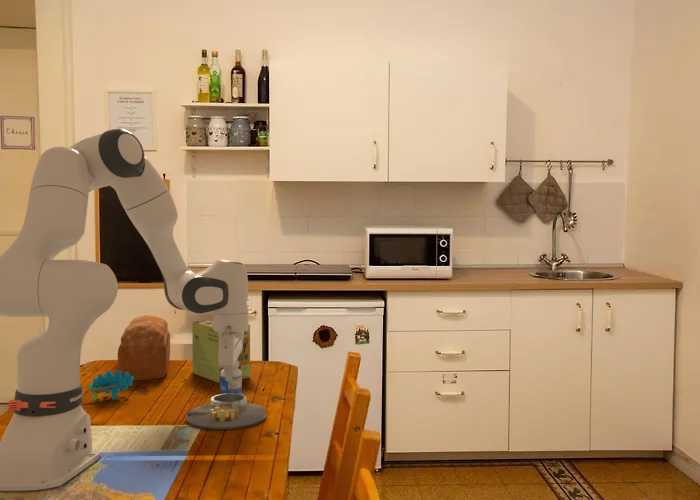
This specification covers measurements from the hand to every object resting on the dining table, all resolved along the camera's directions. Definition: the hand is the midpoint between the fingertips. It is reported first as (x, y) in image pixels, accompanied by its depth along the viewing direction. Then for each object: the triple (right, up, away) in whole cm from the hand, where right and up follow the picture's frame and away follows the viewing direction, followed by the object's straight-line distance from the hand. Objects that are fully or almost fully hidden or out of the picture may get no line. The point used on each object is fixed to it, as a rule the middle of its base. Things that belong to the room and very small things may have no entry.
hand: (230, 377), depth 174 cm
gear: (-30, -6, +2) cm, 31 cm away
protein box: (-7, -4, +25) cm, 26 cm away
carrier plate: (+2, -7, -16) cm, 17 cm away
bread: (-31, -4, +31) cm, 44 cm away
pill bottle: (0, -6, 0) cm, 6 cm away
